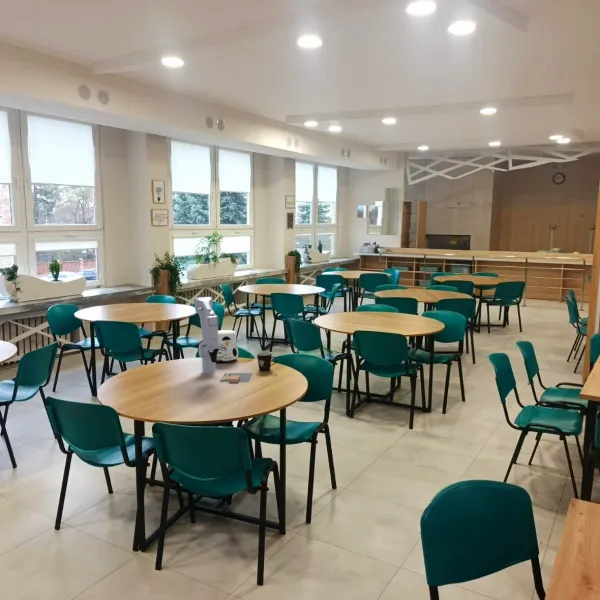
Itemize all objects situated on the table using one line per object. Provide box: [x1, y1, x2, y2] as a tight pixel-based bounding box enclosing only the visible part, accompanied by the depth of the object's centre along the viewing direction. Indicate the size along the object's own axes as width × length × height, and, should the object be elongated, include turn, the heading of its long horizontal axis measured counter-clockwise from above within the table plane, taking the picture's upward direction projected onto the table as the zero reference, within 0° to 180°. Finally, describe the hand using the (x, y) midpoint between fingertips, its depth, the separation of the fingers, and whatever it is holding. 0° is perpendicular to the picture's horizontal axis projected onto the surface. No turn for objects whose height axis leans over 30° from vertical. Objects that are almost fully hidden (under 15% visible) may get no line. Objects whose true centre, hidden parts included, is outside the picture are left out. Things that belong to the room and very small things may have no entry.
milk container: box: [215, 329, 239, 363], centre depth 342 cm, size 17×17×18 cm
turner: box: [220, 371, 231, 381], centre depth 305 cm, size 14×4×1 cm, turn 177°
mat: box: [219, 372, 253, 383], centre depth 303 cm, size 18×16×1 cm
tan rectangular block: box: [228, 375, 240, 384], centre depth 297 cm, size 2×5×7 cm
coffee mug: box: [256, 351, 278, 372], centre depth 317 cm, size 12×9×10 cm
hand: (213, 362), depth 300 cm, fingers closed
